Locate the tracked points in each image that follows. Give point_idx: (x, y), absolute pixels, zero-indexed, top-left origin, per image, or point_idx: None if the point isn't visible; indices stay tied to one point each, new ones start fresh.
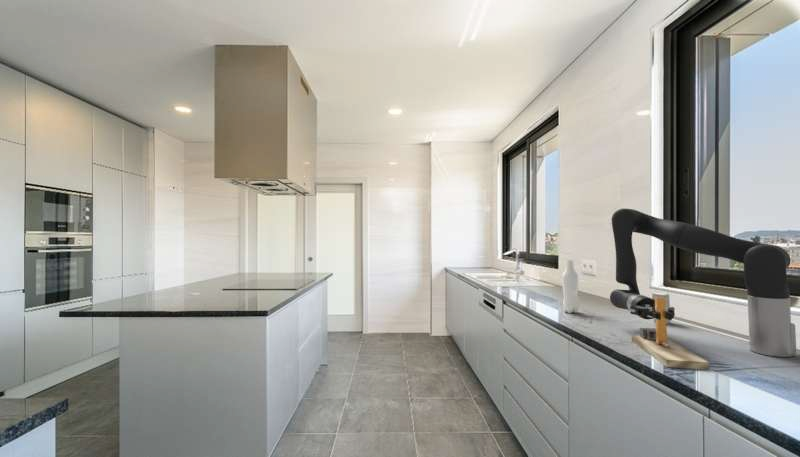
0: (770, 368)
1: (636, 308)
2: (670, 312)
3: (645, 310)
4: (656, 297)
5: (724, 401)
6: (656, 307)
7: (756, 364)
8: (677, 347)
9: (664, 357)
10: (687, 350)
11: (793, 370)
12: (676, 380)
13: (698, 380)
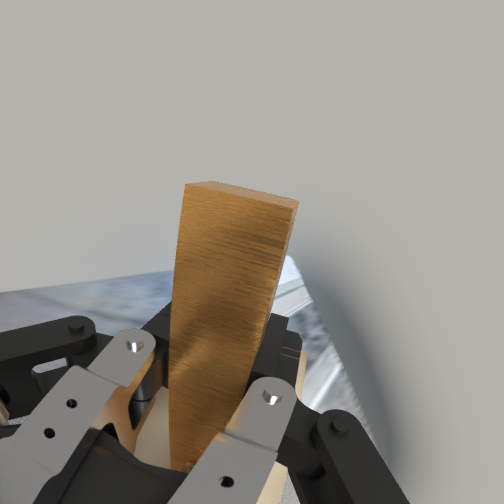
0: (67, 301)
1: (399, 499)
2: (106, 339)
3: (334, 416)
4: (297, 203)
5: (298, 281)
6: (266, 319)
7: (58, 317)
8: (161, 425)
9: (303, 362)
10: (161, 391)
11: (48, 286)
12: (322, 321)
13: (283, 315)
